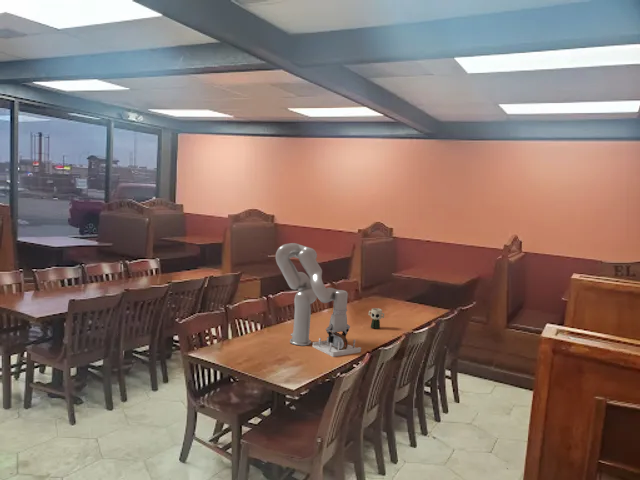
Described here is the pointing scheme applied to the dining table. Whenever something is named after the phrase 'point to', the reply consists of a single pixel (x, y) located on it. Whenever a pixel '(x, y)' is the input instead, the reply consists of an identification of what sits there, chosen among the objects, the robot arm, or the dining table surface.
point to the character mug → (376, 317)
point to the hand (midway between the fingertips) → (337, 341)
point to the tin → (340, 339)
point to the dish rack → (333, 351)
